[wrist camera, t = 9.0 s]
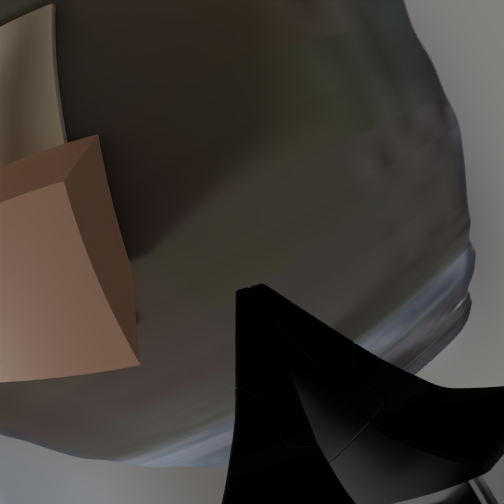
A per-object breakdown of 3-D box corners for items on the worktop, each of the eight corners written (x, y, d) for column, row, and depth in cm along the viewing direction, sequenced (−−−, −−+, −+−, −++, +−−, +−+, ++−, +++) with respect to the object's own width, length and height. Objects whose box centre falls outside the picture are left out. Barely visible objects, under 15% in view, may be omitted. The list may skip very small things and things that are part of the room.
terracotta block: (63, 181, 6) (-118, 264, 3) (140, 364, 11) (-32, 382, 8) (98, 134, 10) (-63, 199, 8) (133, 275, 15) (-10, 306, 12)
